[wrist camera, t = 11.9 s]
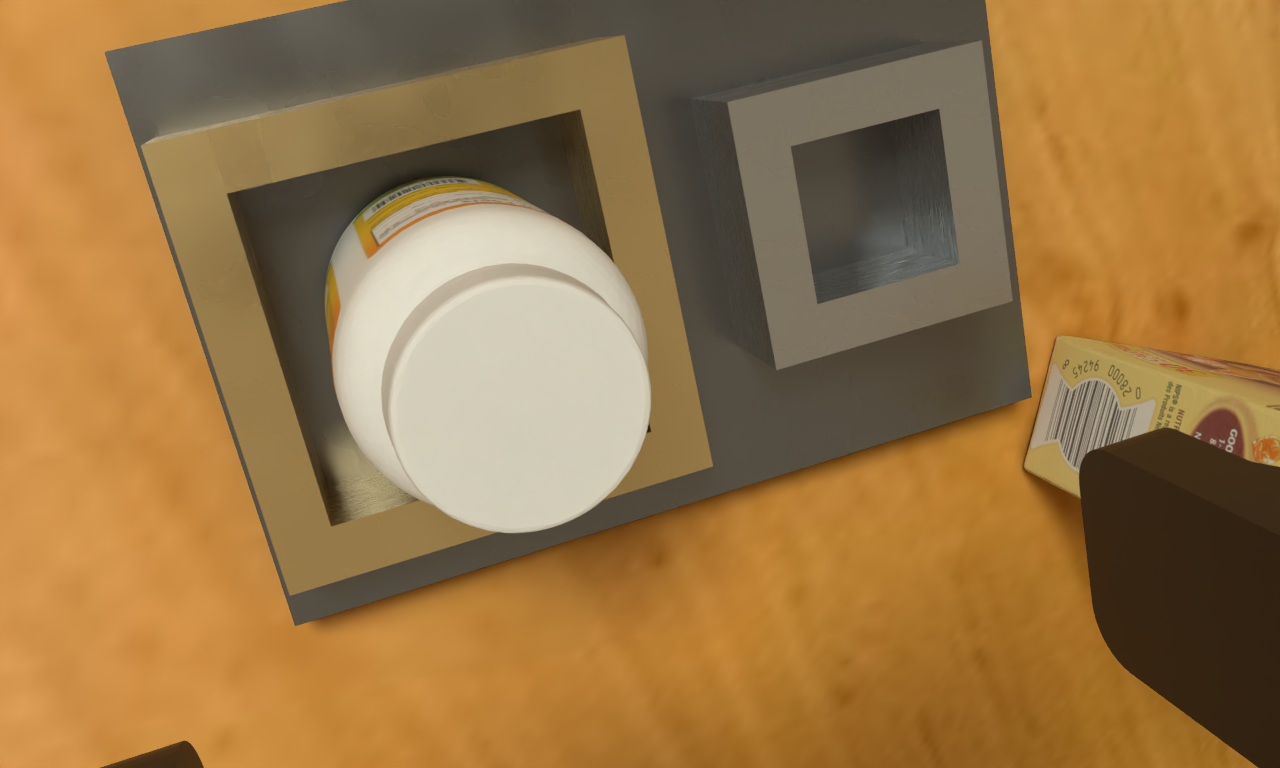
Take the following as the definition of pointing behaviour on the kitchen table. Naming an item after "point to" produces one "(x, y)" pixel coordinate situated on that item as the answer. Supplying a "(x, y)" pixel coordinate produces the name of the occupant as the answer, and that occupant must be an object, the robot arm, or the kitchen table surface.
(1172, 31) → the kitchen table surface
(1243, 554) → the robot arm
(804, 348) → the fitting plate
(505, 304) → the supplement bottle
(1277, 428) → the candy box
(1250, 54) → the kitchen table surface
